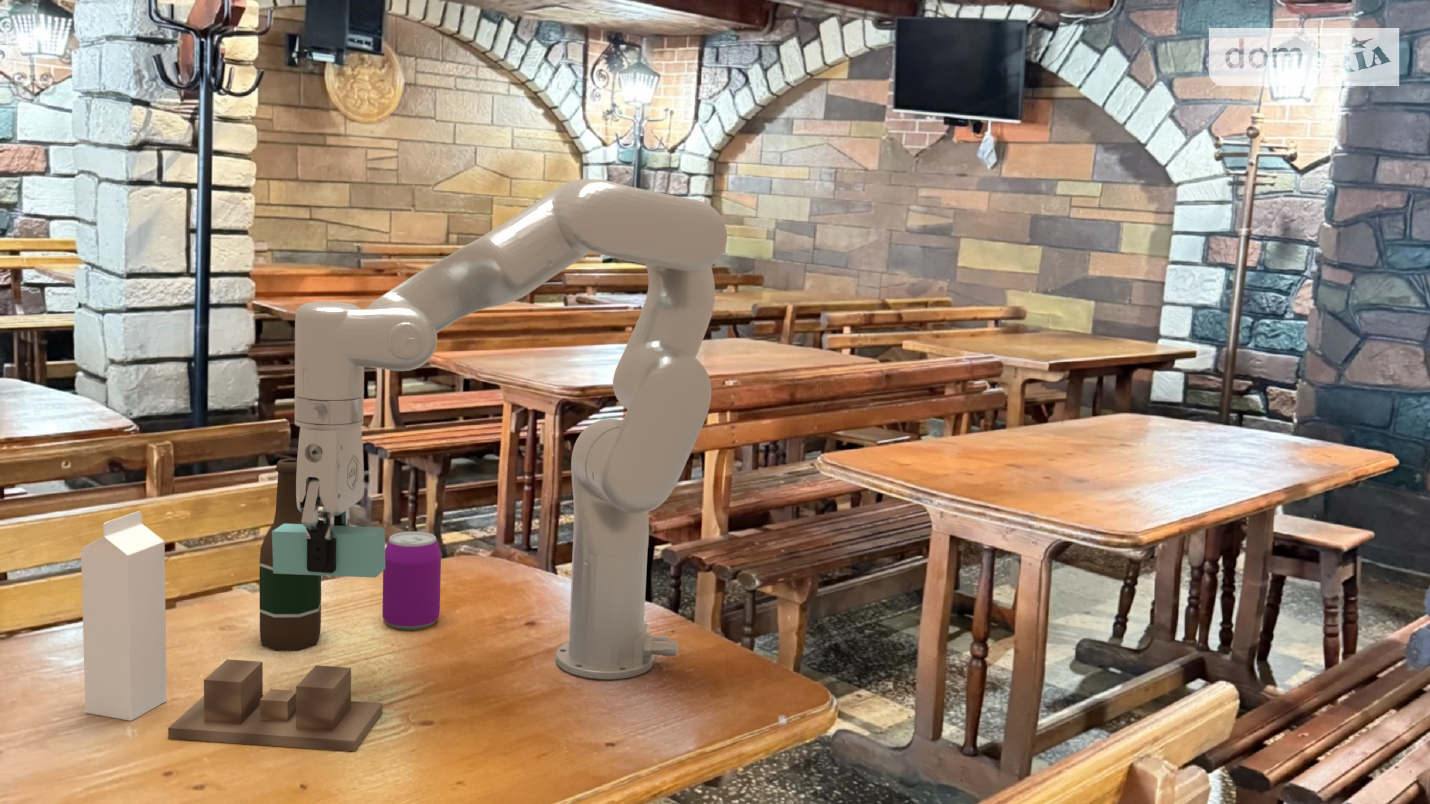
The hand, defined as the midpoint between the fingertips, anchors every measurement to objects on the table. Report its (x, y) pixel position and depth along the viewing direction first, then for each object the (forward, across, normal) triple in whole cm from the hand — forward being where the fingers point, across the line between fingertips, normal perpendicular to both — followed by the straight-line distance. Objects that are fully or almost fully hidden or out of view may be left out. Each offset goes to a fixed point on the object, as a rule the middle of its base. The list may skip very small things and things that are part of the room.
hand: (327, 564), depth 146 cm
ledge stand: (+15, -11, +2) cm, 19 cm away
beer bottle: (+16, +14, +10) cm, 23 cm away
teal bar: (+1, 0, 0) cm, 1 cm away
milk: (+16, -9, +20) cm, 26 cm away
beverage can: (+15, +24, -3) cm, 29 cm away
